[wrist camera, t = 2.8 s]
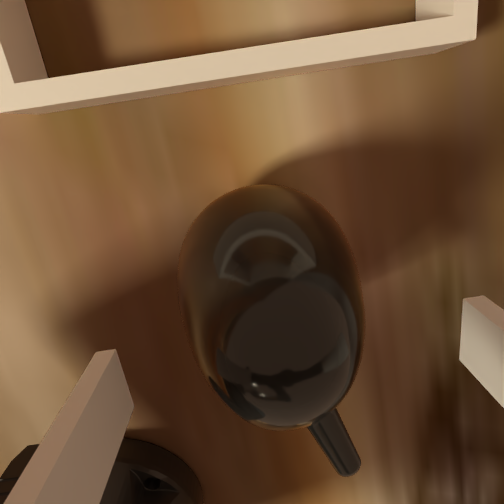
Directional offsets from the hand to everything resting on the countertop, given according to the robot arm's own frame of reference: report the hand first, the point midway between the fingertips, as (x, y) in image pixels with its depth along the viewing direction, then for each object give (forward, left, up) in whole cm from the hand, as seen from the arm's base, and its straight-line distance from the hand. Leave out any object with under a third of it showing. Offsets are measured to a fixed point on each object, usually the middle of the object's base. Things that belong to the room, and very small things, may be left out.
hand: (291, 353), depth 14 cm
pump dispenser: (0, 0, -13) cm, 13 cm away
